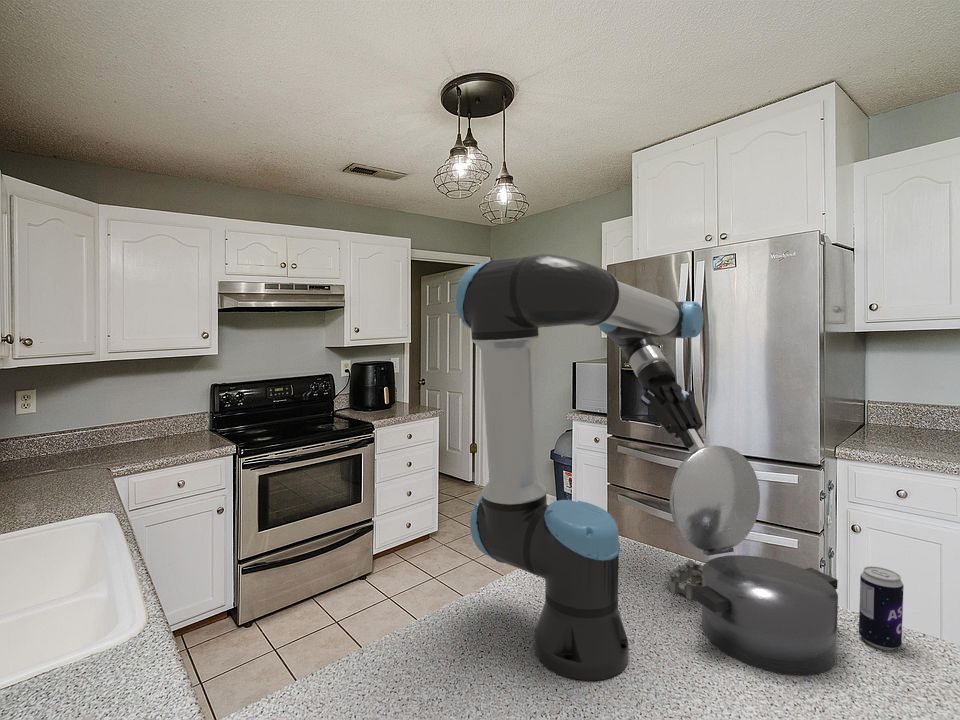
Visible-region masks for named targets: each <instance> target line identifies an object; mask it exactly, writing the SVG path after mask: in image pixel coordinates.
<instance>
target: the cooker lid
mask: <svg viewBox="0 0 960 720" xmlns="http://www.w3.org/2000/svg"><path fill="white" fill-rule="evenodd" d="M704 446H705V447H702V448H700V449H698V450H696V451H694V452H693V453H691V452H690V453H689V454H688V456H686V458H685V459H684V460H683V461H682V462H681V464H680V465H679V466H678V468H677V470H676V472H675V474H674V476H673V479H672V483H671V487H670V493H669V506H670V507H669V508H670V513H671V517H672V520H673V523H674V525H675V527H676V529H677V531H678V533H679V534H680V536H681V537H683V539H684V540H685V541H686V542H687V543H688V544H690V545H692V546H693V547H695V548H697V549H700V550H702V553H703V555H706V556H715V555H722V554H727V553H728V554H729V553H733V552H735V551H734V548H735V547H737V546H738V545H740V544H741V543H742V542H743V541H744V540H745V539H746V538H747V537H748V535H750V532H751V531H752V529H753V527H754V525H755V523H756V521H757V518H758V514H759V510H760V503H761V491H760V484H759V480H758V477H757V475H756V471H755V470H754V469H755V468H754V467H753V466H752V465H751V463H750V462H749V460H748V459H747V458H746V457H745V456H744V455H743V454H742V453H740V452H739V451H737V450H736V449H734V448H731V447H728V446H724V445H723V446H722V445H716V444H715V445H707V446H706V445H704Z"/></svg>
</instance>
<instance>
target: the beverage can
mask: <svg viewBox="0 0 960 720" xmlns="http://www.w3.org/2000/svg"><path fill="white" fill-rule="evenodd" d="M859 581H860V583H859V584H860V585H859V586H860V587H859V612H858V613H859V614H858V616H859V617H858V619H859V620H858V634H859V635H860V636H861V638H862V639H863V640H864V641H865V643H867V644H868V645H870V646H871V647H874V648H877V649H879V650H884V651H894V650H895V649H898V648H899V647H901V646H902V643H903V642H902V641H903V639H902V638H903V637H902V635H903V615H904V614H903V611H904V587H905V586H904V584H903V581H902V580H901V575H900V574H899V573H898V572H896V571H894V570H892V569H891V570H890V569H887V568H884V567H880V566H865V567H863V571H862V573H861V574H860V579H859Z"/></svg>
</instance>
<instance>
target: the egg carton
mask: <svg viewBox="0 0 960 720" xmlns="http://www.w3.org/2000/svg"><path fill="white" fill-rule="evenodd" d="M703 566H704V565H702V564H701V563H696V562H694V560H692V559H688V560H687V562H685V563H683V564H681V565H680V564H679V565H678V566H677V567H676V568H673V569H672V570H667V571H666V573H665V580H667V589H669V590H670V593H672V594H682V595H685V596H686V600H687V599H688V600H689V601H691V600H695V599H694V598H693V588H698V587H702V586H703ZM688 578H690V583H686V582H688ZM683 583H686V584H683Z"/></svg>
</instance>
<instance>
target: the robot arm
mask: <svg viewBox="0 0 960 720" xmlns="http://www.w3.org/2000/svg"><path fill="white" fill-rule="evenodd" d="M455 291H456V293H455V298H454V301H455V309H456V313H457V316H458V318H459V319H461V323H462V324H464V326H466V327H467V328H469V329H470V331H471V342H472V343H474V344H475V345H476V346H477V347H478V348H479V349H480V352H481V353H480V354H481V365H482V366H481V368H482V369H481V370H482V371H481V372H482V382H483V383H482V385H483V386H482V387H483V403H484V419H485V433H486V434H485V435H486V451H487V453H486V454H487V466H488V469H487V470H488V482H487V483H486V484H485V485H484V487H482V489H481V495H480V496H479V497H478V498H477V499H476V501H475V503H474V505H473V507H474V510H472V511H471V513H470V517H469V518H470V519H469V526H470V527H469V528H470V534H471V538H472V541H473V543H474V545H475V546H476V548H477V549H478V550H479V551H480V552H481V553H482V554H484V555H486V556H488V557H490V558H491V559H492V560H495V561H496V562H498V563H501V564H506V565H509V566H510V567H514V568H516V569H519V570H521V571H524V572H527V573H530V574H532V575H534V576H537V577H540V578H542V579H544V580H545V582H544V585H545V587H544V588H545V600H544V603H543V607H542V610H541V613H540V615H539V619H538V622H537V625H536V628H535V630H534V652H535V655H536V657H537V659H538V660H539V661H540V662H541V663H542V664H543V666H545V667H547V668H548V669H549V670H550V671H552V672H555V673H557V674H559V675H561V676H564V677H566V678H569V679H574V680H581V681H601V680H606V679H609V678H612V677H614V676H615V677H616V676H617V675H619V674H620V673H621V672H622V671H624V670H625V669H626V667H627V665H628V663H629V656H630V655H629V653H630V650H629V649H630V645H629V639H628V636H627V633H626V630H625V626H624V623H623V620H622V617H621V613H620V611H619V568H620V566H619V563H620V562H619V561H620V560H619V558H620V557H619V556H620V555H619V554H620V549H621V548H620V547H621V546H620V540H619V530H618V529H619V528H618V524H617V522H616V520H615V518H614V517H613V516H612V515H611V514H610V512H608V511H607V510H605V509H604V508H602V507H600V506H597V505H595V504H593V503H589V502H587V501H583V500H582V501H581V500H577V501H574V500H572V499H560V500H555V501H553V502H551V503H549V504H548V501H547V487H546V486H545V485H544V484H543V483H542V482H540V481H539V480H538V474H537V472H538V471H537V470H538V469H537V455H536V453H537V452H536V451H537V450H536V435H535V434H536V433H535V413H534V394H533V393H534V392H533V390H534V389H533V375H532V353H531V347H532V345H533V344H534V342H536V341H537V340H538V338H539V335H540V334H539V328H549V327H560V326H569V325H583V326H588V327H592V326H593V327H594V326H598V328H599V329H600V331H601V332H603V333H604V334H605V335H607V337H608V338H609V339H610V340H611V341H613V342H614V343H615V345H616V346H617V347H618V348H619V349H621V351H622V353H623V354H624V355H625V357H626V359H627V361H628V364H629V365H630V367H631V369H632V370H633V373H634V374H635V376H636V377H637V380H638V382H639V385H640V387H642V390H643V391H644V393H643V394H642V396H641V397H640V399H639V401H640V403H641V404H642V405H644V406H646V407H647V408H648V409H649V411H650V412H651V413H652V414H653V416H654V417H655V418H656V420H657V421H658V422H659V423H660V425H661V426H662V427H663V428H664V429H665V430H666V432H667V433H668V435H672V434H674V437H675V439H679V438H680V440H681V442H682V443H683V446H684V447H685V448H686V449H688V450H689V452H690V454H691V453H693V452H694V451H696V450H698V449H700V448H702V447H705V446H706V445H704V443H705V442H704V439H703V438H702V436H701V435H700V433H699V430H700V429H701V428H702V427H703V425H704V423H703V420H702V418H701V415H700V412H699V409H698V406H697V404H696V401H695V392H694V390H691V389H689V391H685V390H684V389H682V386H681V385H680V384H678V383H677V380H676V374H675V372H674V371H673V368H672V367H671V365H670V364H669V363H668V360H667V358H666V357H665V355H664V353H662V351H661V348H660V347H659V346H658V345H657V343H656V341H655V339H654V338H656V339H658V338H659V339H661V338H662V339H665V338H666V339H688V338H696V337H698V336H699V335H700V334H701V332H702V330H703V326H704V311H703V308H702V306H701V305H700V303H699V302H697V301H695V300H694V301H692V300H690V301H686V300H683V301H673V300H671V299H669V298H665V297H662V296H659V295H656V294H654V293H652V292H648V291H645V290H643V289H641V288H638V287H635V286H632V285H630V284H627V283H623V282H621V281H618V280H617V278H616V277H615V275H613V273H611V272H610V271H608V270H606V269H604V268H602V267H599V266H596V265H594V264H590V263H587V262H584V261H581V260H579V259H574V258H570V257H566V256H562V255H556V254H549V253H548V254H545V253H544V254H534V255H531V256H529V255H528V256H521V257H512V258H505V259H494V260H493V259H492V260H489V261H486V262H482V263H477V264H475V265H473V266H471V267H470V268H469V269H467V270H466V272H465V274H464V275H463V276H462V277H461V279H460V280H459V282H458V285H457V287H456V290H455Z"/></svg>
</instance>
